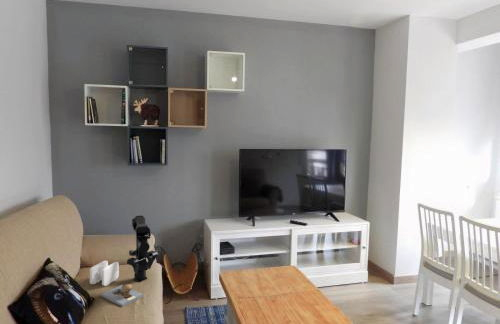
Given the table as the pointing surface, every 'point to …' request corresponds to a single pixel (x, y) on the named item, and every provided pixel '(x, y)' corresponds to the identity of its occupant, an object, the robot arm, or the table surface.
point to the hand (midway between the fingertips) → (143, 271)
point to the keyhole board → (118, 299)
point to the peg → (126, 290)
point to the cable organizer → (104, 273)
